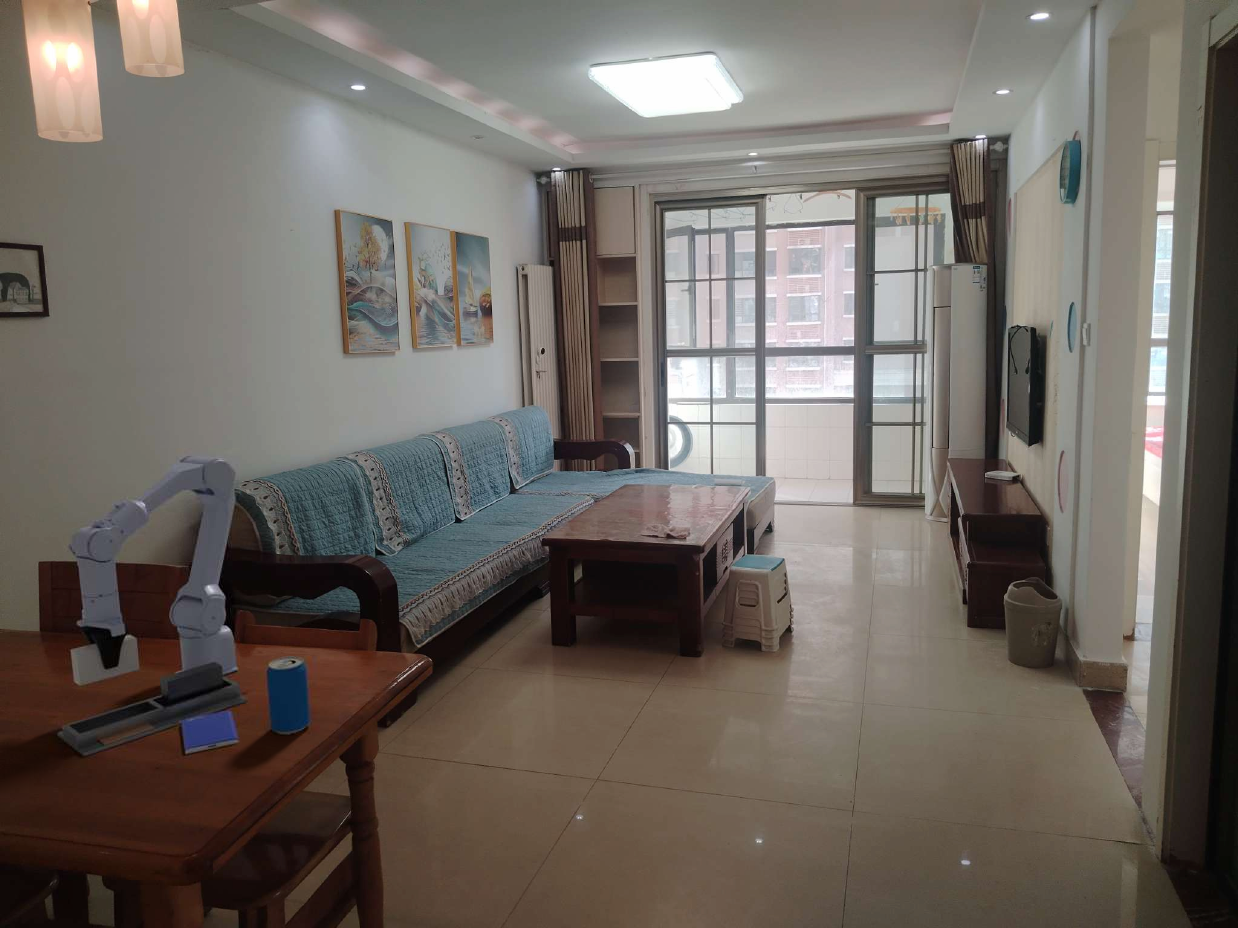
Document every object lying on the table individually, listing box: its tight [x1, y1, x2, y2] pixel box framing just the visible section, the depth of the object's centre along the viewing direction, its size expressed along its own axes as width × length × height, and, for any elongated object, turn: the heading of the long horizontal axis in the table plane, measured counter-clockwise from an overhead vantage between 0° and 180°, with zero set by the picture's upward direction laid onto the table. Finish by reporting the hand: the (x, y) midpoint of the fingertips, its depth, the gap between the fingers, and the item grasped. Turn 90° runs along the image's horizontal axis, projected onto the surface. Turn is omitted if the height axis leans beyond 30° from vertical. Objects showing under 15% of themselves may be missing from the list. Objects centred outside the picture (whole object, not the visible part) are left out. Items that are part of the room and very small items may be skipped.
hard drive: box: [180, 710, 240, 755], centre depth 156 cm, size 2×8×12 cm
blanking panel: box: [70, 634, 140, 686], centre depth 165 cm, size 10×3×6 cm, turn 139°
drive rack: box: [57, 662, 249, 757], centre depth 162 cm, size 28×12×7 cm, turn 140°
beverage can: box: [266, 656, 311, 735], centre depth 157 cm, size 6×6×12 cm
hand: (107, 665), depth 165 cm, fingers closed on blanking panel, 3 cm apart
